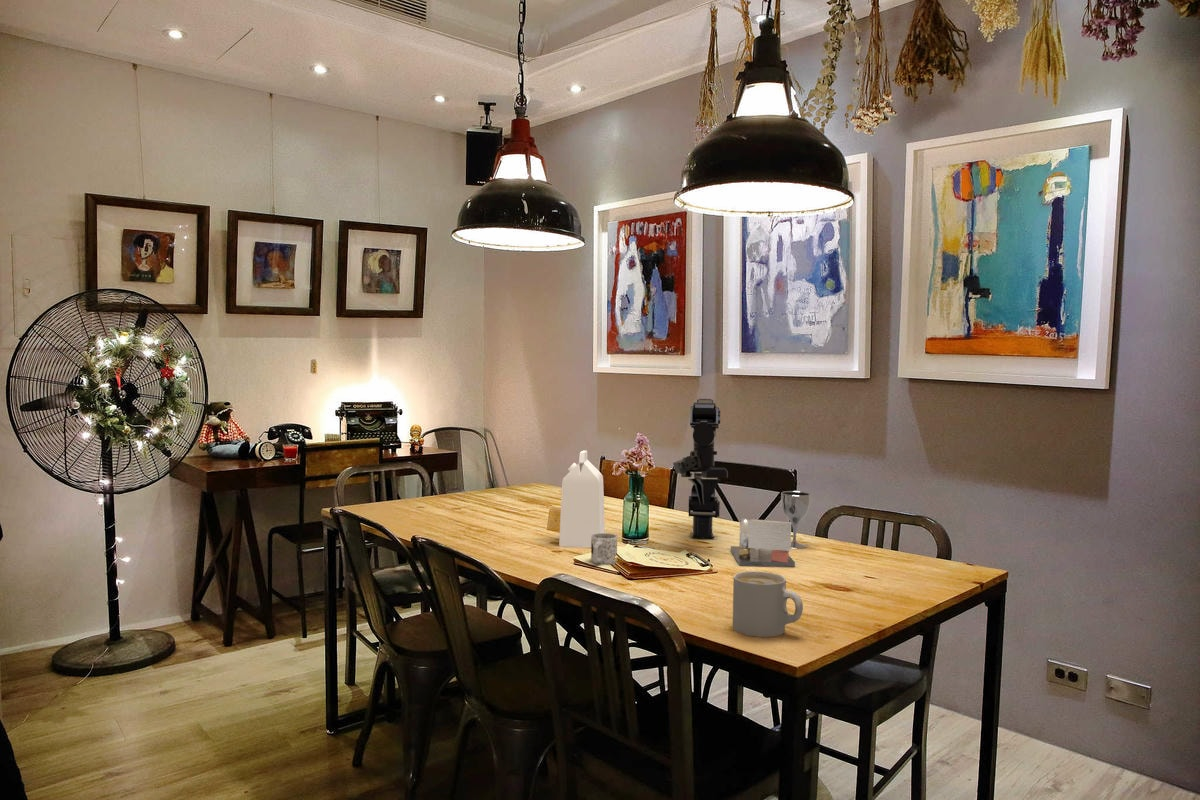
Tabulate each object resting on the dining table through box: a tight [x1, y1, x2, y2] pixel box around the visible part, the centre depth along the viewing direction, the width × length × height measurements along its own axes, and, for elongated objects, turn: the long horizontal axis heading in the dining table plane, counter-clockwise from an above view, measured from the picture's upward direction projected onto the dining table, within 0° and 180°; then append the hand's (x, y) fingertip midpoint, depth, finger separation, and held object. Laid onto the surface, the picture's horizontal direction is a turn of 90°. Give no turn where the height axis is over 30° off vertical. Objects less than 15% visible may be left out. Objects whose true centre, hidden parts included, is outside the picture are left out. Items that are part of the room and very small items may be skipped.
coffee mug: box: [732, 570, 804, 638], centre depth 157 cm, size 13×10×10 cm
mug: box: [590, 532, 618, 566], centre depth 209 cm, size 10×7×7 cm, turn 159°
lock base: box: [730, 545, 796, 568], centre depth 216 cm, size 17×14×4 cm
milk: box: [558, 450, 606, 549], centre depth 232 cm, size 12×12×26 cm
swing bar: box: [739, 518, 792, 552], centre depth 210 cm, size 13×3×7 cm, turn 72°
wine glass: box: [780, 490, 811, 550], centre depth 232 cm, size 8×8×15 cm
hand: (703, 504), depth 226 cm, fingers closed
